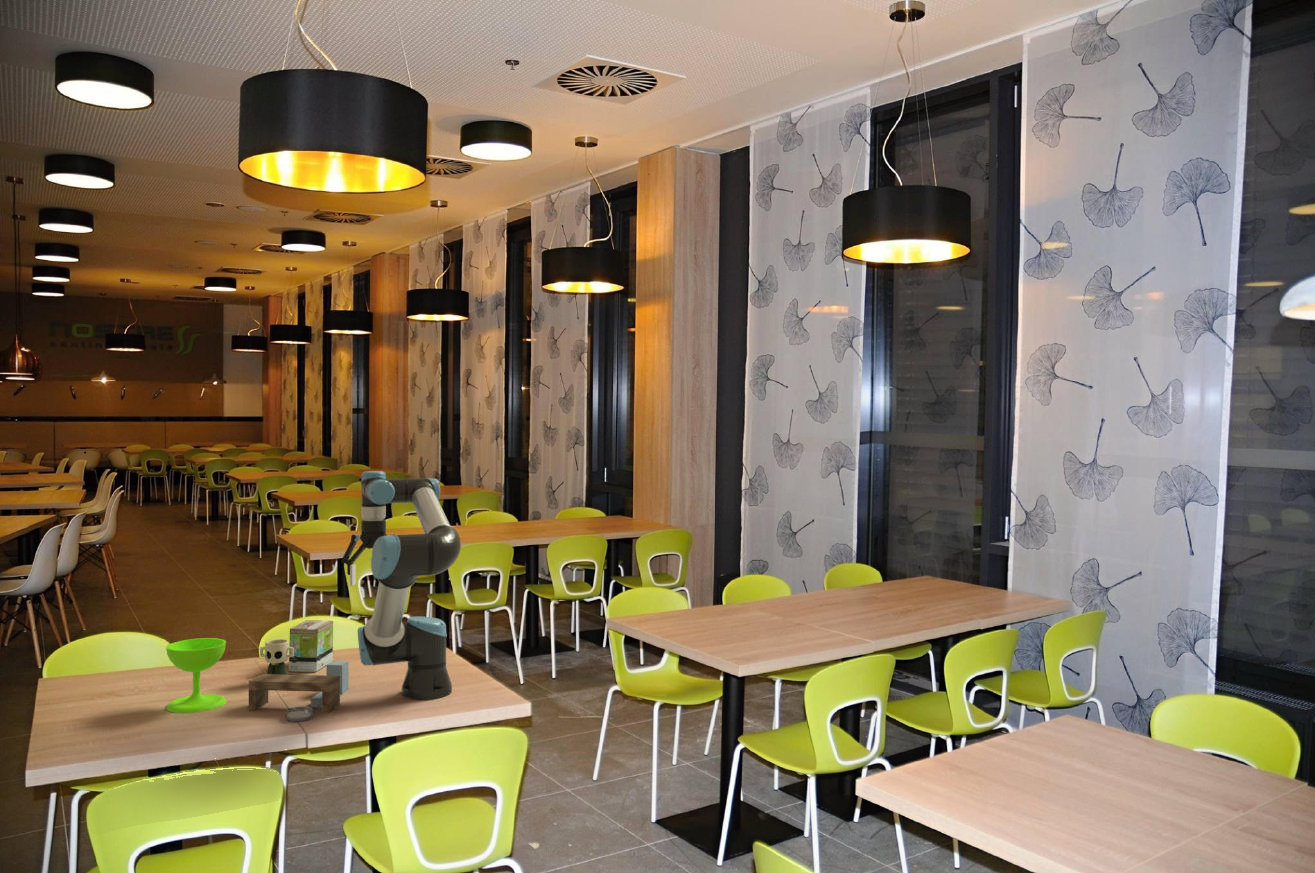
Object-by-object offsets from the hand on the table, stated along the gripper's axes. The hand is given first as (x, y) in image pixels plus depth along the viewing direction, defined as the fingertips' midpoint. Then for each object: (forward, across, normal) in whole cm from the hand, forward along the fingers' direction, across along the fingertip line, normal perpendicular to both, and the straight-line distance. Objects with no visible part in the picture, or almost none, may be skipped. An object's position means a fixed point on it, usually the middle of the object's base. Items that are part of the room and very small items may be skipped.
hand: (373, 585), depth 303 cm
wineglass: (+32, +44, +26) cm, 60 cm away
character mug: (+32, +32, 0) cm, 45 cm away
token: (+32, +8, +36) cm, 48 cm away
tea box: (+32, +29, -19) cm, 47 cm away
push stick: (+32, +8, +16) cm, 36 cm away
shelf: (+32, +14, +26) cm, 43 cm away
